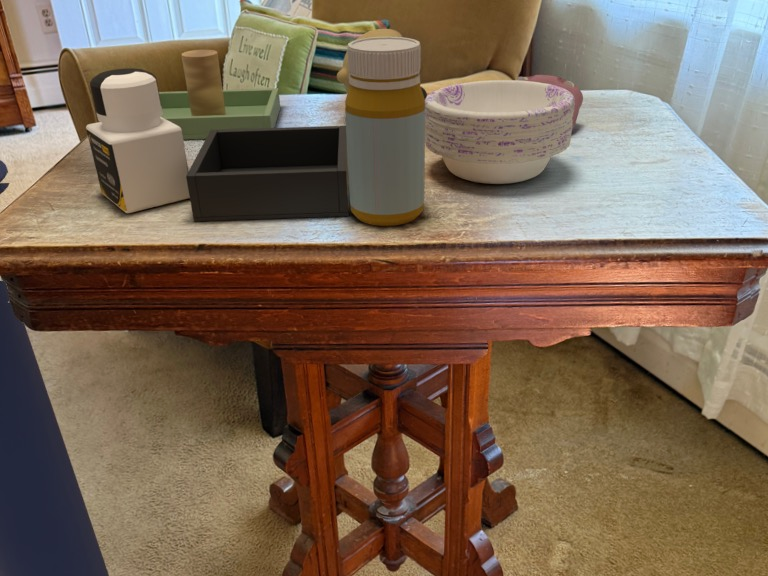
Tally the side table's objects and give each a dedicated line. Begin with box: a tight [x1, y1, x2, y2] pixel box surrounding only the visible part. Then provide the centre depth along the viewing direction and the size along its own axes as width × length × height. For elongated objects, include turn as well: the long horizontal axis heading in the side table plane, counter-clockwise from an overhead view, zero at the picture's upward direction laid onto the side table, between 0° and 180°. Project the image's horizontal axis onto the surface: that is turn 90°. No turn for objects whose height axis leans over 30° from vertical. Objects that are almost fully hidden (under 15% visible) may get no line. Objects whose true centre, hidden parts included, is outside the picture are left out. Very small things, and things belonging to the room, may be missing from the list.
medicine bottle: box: [85, 67, 190, 214], centre depth 74 cm, size 7×7×12 cm
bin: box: [186, 125, 349, 222], centre depth 76 cm, size 15×15×4 cm
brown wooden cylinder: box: [181, 49, 226, 116], centre depth 96 cm, size 4×4×8 cm
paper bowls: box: [425, 79, 575, 185], centre depth 79 cm, size 15×15×8 cm
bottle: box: [344, 36, 426, 227], centre depth 68 cm, size 7×7×15 cm
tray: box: [159, 87, 281, 141], centre depth 98 cm, size 18×14×3 cm
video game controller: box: [515, 74, 584, 130], centre depth 93 cm, size 10×5×7 cm, turn 62°
